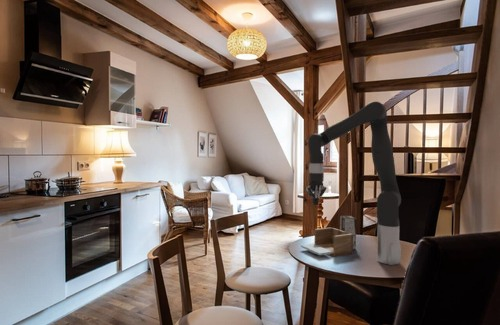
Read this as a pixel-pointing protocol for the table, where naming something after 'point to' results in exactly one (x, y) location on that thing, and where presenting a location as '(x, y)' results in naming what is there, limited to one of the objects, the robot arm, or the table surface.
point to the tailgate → (316, 249)
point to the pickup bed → (334, 241)
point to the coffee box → (349, 226)
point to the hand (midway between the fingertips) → (315, 205)
